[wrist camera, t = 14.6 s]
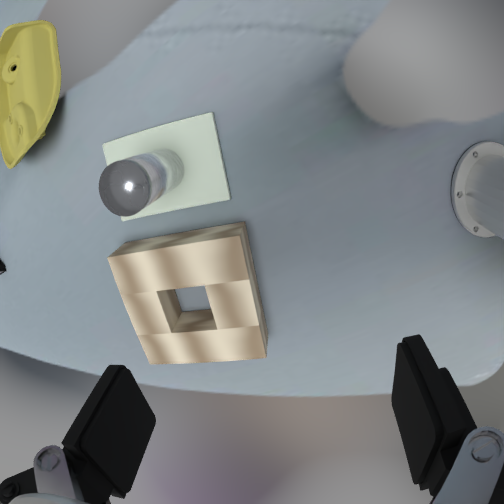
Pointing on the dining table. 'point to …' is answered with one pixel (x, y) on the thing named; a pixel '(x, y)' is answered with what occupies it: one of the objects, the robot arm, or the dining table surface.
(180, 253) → the bore block
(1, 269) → the electric trimmer
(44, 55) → the plastic component
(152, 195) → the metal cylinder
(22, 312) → the dining table surface
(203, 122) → the mat
